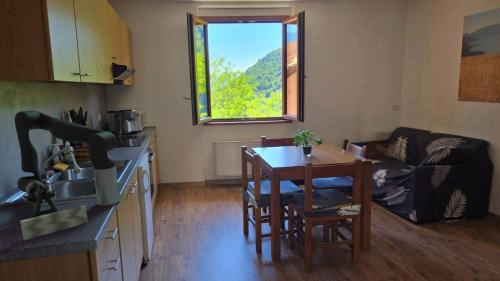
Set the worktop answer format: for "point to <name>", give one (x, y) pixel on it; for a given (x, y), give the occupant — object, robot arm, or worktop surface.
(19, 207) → the worktop surface
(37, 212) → the phone stand
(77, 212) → the wall board
